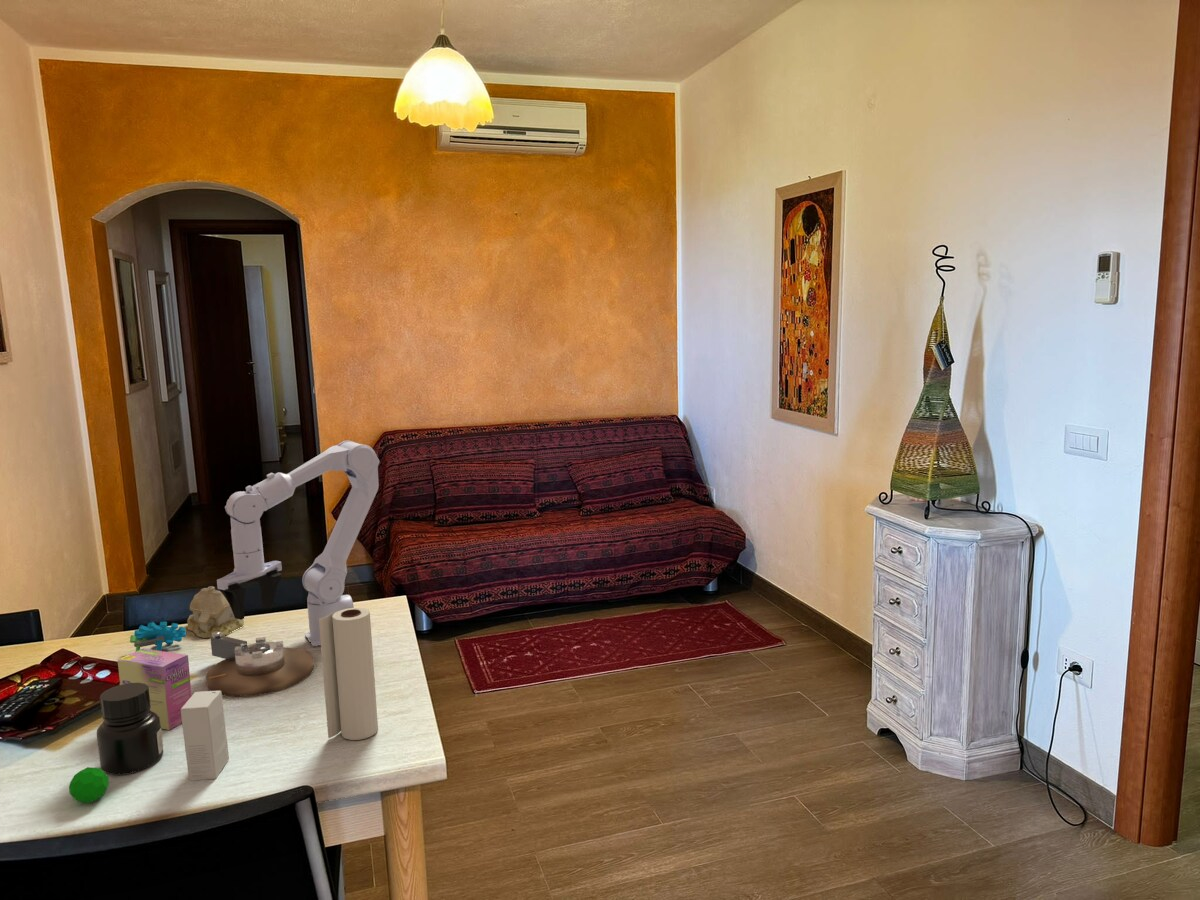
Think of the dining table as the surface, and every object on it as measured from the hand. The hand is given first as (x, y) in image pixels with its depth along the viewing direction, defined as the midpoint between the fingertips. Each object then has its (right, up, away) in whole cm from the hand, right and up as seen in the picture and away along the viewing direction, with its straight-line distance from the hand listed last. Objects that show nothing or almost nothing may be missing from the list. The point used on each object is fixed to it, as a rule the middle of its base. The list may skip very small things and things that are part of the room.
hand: (254, 612), depth 177 cm
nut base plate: (+5, -11, -8) cm, 14 cm away
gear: (-23, -10, +6) cm, 25 cm away
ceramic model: (-17, -7, +18) cm, 26 cm away
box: (-6, -14, -26) cm, 30 cm away
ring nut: (+1, -9, -6) cm, 11 cm away
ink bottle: (-3, -16, -40) cm, 44 cm away
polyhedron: (-3, -18, -51) cm, 54 cm away
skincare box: (+11, -17, -44) cm, 48 cm away
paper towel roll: (+31, -14, -33) cm, 47 cm away
